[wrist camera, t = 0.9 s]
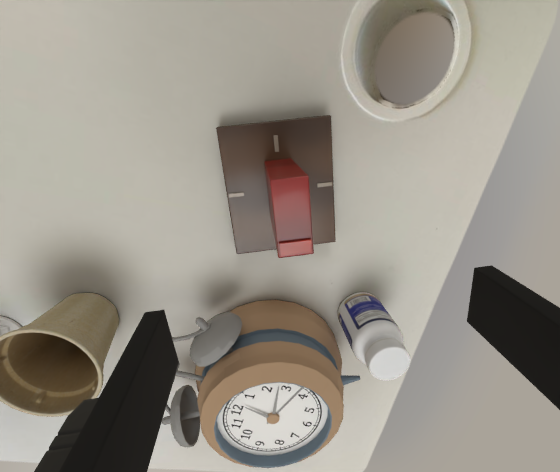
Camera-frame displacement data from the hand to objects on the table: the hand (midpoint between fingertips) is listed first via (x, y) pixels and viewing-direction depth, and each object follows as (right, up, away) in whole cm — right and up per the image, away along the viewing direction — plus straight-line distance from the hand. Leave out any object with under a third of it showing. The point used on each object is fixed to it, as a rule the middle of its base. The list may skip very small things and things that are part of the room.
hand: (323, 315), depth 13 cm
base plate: (-2, +8, +18) cm, 20 cm away
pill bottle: (+7, -5, +24) cm, 26 cm away
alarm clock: (-6, -11, +25) cm, 28 cm away
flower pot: (-23, -5, +21) cm, 32 cm away
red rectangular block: (-2, +8, +16) cm, 18 cm away
